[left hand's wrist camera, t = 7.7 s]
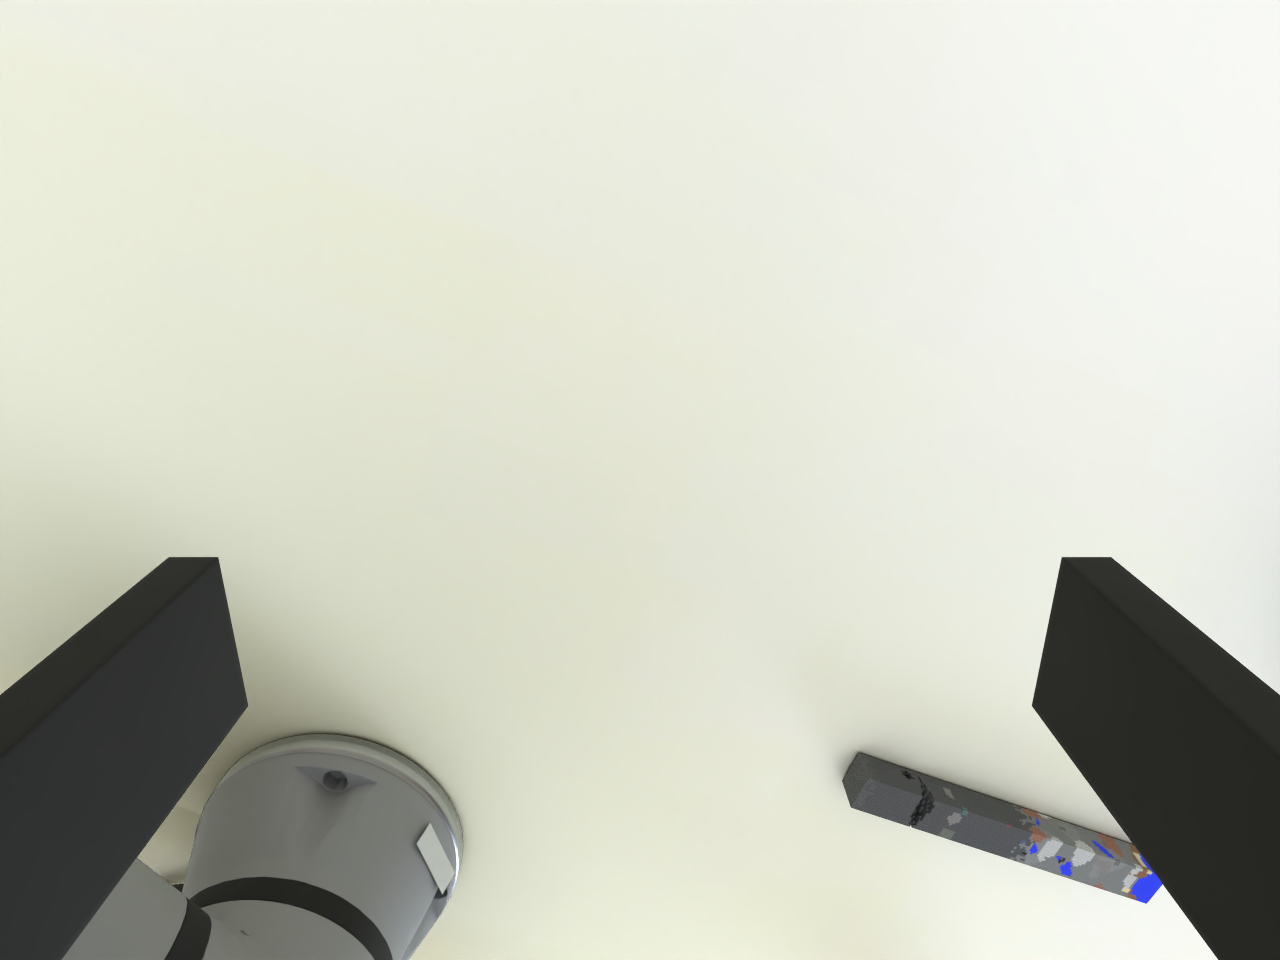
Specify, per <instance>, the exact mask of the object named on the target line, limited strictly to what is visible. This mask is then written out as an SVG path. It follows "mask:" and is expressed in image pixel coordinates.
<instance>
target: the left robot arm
mask: <svg viewBox="0 0 1280 960" xmlns="http://www.w3.org/2000/svg"><path fill="white" fill-rule="evenodd" d="M247 707H248V703H247V698H246V693H245V688H244V683H243V678H242V673H241V668H240V663H239V658H238V653H237V648H236V643H235V638H234V633H233V628H232V624H231V619H230V614H229V609H228V604H227V599H226V594H225V589H224V584H223V579H222V574H221V569H220V564H219V559H218V557H169V558H167V559H166V560H165V561H164V562H163V563H161V564H160V565H159V566H158V567H156V568H155V569H154V570H153V571H151V572H150V573H149V574H148V575H147V576H145V577H144V578H143V579H142V580H140V581H139V582H138V583H137V584H136V585H134V586H133V587H132V588H131V589H129V590H128V591H127V592H126V593H125V594H123V595H122V596H121V597H120V598H118V599H117V600H116V601H115V602H114V603H112V604H111V605H110V606H109V607H107V608H106V609H105V610H104V611H103V612H101V613H100V614H99V615H98V616H96V617H95V618H94V619H93V620H92V621H90V622H89V623H88V624H87V625H85V626H84V627H83V628H82V629H81V630H79V631H78V632H77V633H76V634H74V635H73V636H72V637H71V638H70V639H68V640H67V641H66V642H65V643H63V644H62V645H61V646H60V647H59V648H57V649H56V650H55V651H54V652H52V653H51V654H50V655H49V656H48V657H46V658H45V659H44V660H43V661H41V662H40V663H39V664H38V665H37V666H35V667H34V668H33V669H32V670H30V671H29V672H28V673H27V674H25V675H24V676H23V677H22V678H21V679H19V680H18V681H17V682H16V683H14V684H13V685H12V686H11V687H10V688H8V689H7V690H6V691H5V692H3V693H2V694H1V695H0V960H409V959H410V957H411V956H412V954H413V953H414V952H415V950H416V949H417V947H418V946H419V945H420V943H421V942H422V940H423V939H424V937H425V936H426V935H427V933H428V932H429V930H430V929H431V928H432V926H433V925H434V923H435V922H436V920H437V919H438V918H439V916H440V915H441V913H442V911H443V910H444V908H445V906H446V904H447V902H448V901H449V899H450V897H451V895H452V892H453V890H454V887H455V883H456V880H457V876H458V872H459V868H460V864H461V861H462V854H463V836H462V829H461V825H460V821H459V819H458V816H457V813H456V811H455V809H454V807H453V805H452V803H451V801H450V800H449V798H448V797H447V795H446V794H445V792H444V791H443V790H442V788H441V787H440V786H439V785H438V784H437V783H436V781H435V780H434V779H433V778H432V777H431V776H430V775H428V774H427V773H426V772H425V771H424V770H423V769H422V768H420V767H419V766H417V765H416V764H415V763H413V762H412V761H410V760H409V759H407V758H405V757H404V756H402V755H400V754H398V753H396V752H395V751H393V750H391V749H388V748H386V747H383V746H381V745H379V744H376V743H373V742H369V741H366V740H363V739H358V738H354V737H349V736H342V735H332V734H308V735H298V736H293V737H287V738H284V739H280V740H276V741H273V742H271V743H268V744H265V745H263V746H261V747H259V748H257V749H255V750H253V751H252V752H250V753H249V754H247V755H245V756H244V757H243V758H241V759H240V760H239V761H238V762H236V763H235V764H234V765H233V766H232V767H231V768H230V769H229V771H228V772H227V773H226V775H225V776H224V777H223V778H222V780H221V781H220V783H219V784H218V786H217V787H216V789H215V790H214V792H213V793H212V794H211V796H210V798H209V799H208V801H207V803H206V804H205V807H204V809H203V811H202V814H201V817H200V820H199V822H198V825H197V829H196V833H195V842H194V846H193V849H192V853H191V857H190V861H189V865H188V869H187V873H186V877H185V882H184V884H176V885H171V884H170V883H168V882H167V881H166V880H165V879H163V878H162V877H161V876H159V875H158V874H157V873H156V872H154V871H153V870H152V869H151V868H149V867H148V866H147V865H145V864H144V863H143V862H142V861H140V860H139V859H138V858H137V856H138V855H139V854H140V852H141V851H142V850H143V848H144V847H145V846H146V844H147V843H148V841H149V840H150V839H151V837H152V836H153V835H154V833H155V832H156V831H157V829H158V828H159V827H160V825H161V824H162V822H163V821H164V820H165V818H166V817H167V816H168V814H169V813H170V812H171V810H172V809H173V807H174V806H175V805H176V803H177V802H178V801H179V799H180V798H181V797H182V795H183V794H184V792H185V791H186V790H187V788H188V787H189V786H190V784H191V783H192V782H193V780H194V779H195V777H196V776H197V775H198V773H199V772H200V771H201V769H202V768H203V767H204V765H205V764H206V763H207V761H208V760H209V758H210V757H211V756H212V754H213V753H214V752H215V750H216V749H217V748H218V746H219V745H220V743H221V742H222V741H223V739H224V738H225V737H226V735H227V734H228V733H229V731H230V730H231V728H232V727H233V726H234V724H235V723H236V722H237V720H238V719H239V718H240V716H241V715H242V713H243V712H244V711H245V709H246V708H247ZM1032 707H1033V708H1034V709H1035V711H1036V712H1037V713H1038V715H1039V716H1040V718H1041V719H1042V720H1043V722H1044V723H1045V724H1046V726H1047V727H1048V728H1049V730H1050V731H1051V733H1052V734H1053V735H1054V737H1055V738H1056V739H1057V741H1058V742H1059V743H1060V745H1061V746H1062V748H1063V749H1064V750H1065V752H1066V753H1067V754H1068V756H1069V757H1070V758H1071V760H1072V761H1073V763H1074V764H1075V765H1076V767H1077V768H1078V769H1079V771H1080V772H1081V773H1082V775H1083V776H1084V777H1085V779H1086V780H1087V782H1088V783H1089V784H1090V786H1091V787H1092V788H1093V790H1094V791H1095V792H1096V794H1097V795H1098V797H1099V798H1100V799H1101V801H1102V802H1103V803H1104V805H1105V806H1106V807H1107V809H1108V810H1109V812H1110V813H1111V814H1112V816H1113V817H1114V818H1115V820H1116V821H1117V822H1118V824H1119V825H1120V827H1121V828H1122V829H1123V831H1124V832H1125V833H1126V835H1127V836H1128V837H1129V839H1130V840H1131V841H1132V843H1133V844H1134V846H1135V847H1136V848H1137V850H1138V851H1139V852H1140V854H1141V855H1142V856H1143V858H1144V859H1145V861H1146V862H1147V863H1148V865H1149V866H1150V867H1151V869H1152V870H1153V871H1154V873H1155V874H1156V876H1157V877H1158V878H1159V880H1160V881H1161V882H1162V884H1163V885H1164V886H1165V888H1166V889H1167V891H1168V892H1169V893H1170V895H1171V896H1172V897H1173V899H1174V900H1175V901H1176V903H1177V904H1178V905H1179V907H1180V908H1181V910H1182V911H1183V912H1184V914H1185V915H1186V916H1187V918H1188V919H1189V920H1190V922H1191V923H1192V925H1193V926H1194V927H1195V929H1196V930H1197V931H1198V933H1199V934H1200V935H1201V937H1202V938H1203V940H1204V941H1205V942H1206V944H1207V945H1208V946H1209V948H1210V949H1211V950H1212V952H1213V953H1214V955H1215V956H1216V957H1217V959H1218V960H1280V695H1279V694H1278V693H1277V692H1275V691H1274V690H1273V689H1272V688H1270V687H1269V686H1268V685H1267V684H1266V683H1264V682H1263V681H1262V680H1261V679H1259V678H1258V677H1257V676H1256V675H1255V674H1253V673H1252V672H1251V671H1250V670H1248V669H1247V668H1246V667H1245V666H1243V665H1242V664H1241V663H1240V662H1239V661H1237V660H1236V659H1235V658H1234V657H1232V656H1231V655H1230V654H1229V653H1228V652H1226V651H1225V650H1224V649H1223V648H1221V647H1220V646H1219V645H1218V644H1217V643H1215V642H1214V641H1213V640H1212V639H1210V638H1209V637H1208V636H1207V635H1206V634H1204V633H1203V632H1202V631H1201V630H1199V629H1198V628H1197V627H1196V626H1195V625H1193V624H1192V623H1191V622H1190V621H1188V620H1187V619H1186V618H1185V617H1184V616H1182V615H1181V614H1180V613H1179V612H1177V611H1176V610H1175V609H1174V608H1173V607H1171V606H1170V605H1169V604H1168V603H1166V602H1165V601H1164V600H1163V599H1162V598H1160V597H1159V596H1158V595H1157V594H1155V593H1154V592H1153V591H1152V590H1151V589H1149V588H1148V587H1147V586H1146V585H1144V584H1143V583H1142V582H1141V581H1140V580H1138V579H1137V578H1136V577H1135V576H1133V575H1132V574H1131V573H1130V572H1129V571H1127V570H1126V569H1125V568H1124V567H1122V566H1121V565H1120V564H1119V563H1117V562H1116V561H1115V560H1114V559H1113V558H1111V557H1062V559H1061V564H1060V569H1059V574H1058V579H1057V584H1056V589H1055V594H1054V599H1053V604H1052V609H1051V614H1050V619H1049V624H1048V628H1047V633H1046V638H1045V643H1044V648H1043V653H1042V658H1041V663H1040V668H1039V673H1038V678H1037V683H1036V688H1035V693H1034V698H1033V703H1032Z"/></svg>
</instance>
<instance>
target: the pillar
mask: <svg viewBox="0 0 1280 960" xmlns="http://www.w3.org/2000/svg"><path fill="white" fill-rule="evenodd" d="M842 782H843V785H844V788H845V791H846V794H847V797H848V800H849V803H850V806H851V808H854V809H857V810H860V811H863V812H866V813H869V814H872V815H876V816H879V817H882V818H885V819H888V820H891V821H894V822H897V823H900V824H903V825H906V826H909V827H910V825H911V826H912V828H915V829H919V830H922V831H925V832H928V833H931V834H934V835H937V836H940V837H943V838H946V839H949V840H952V841H955V842H959V843H962V844H965V845H968V846H971V847H974V848H977V849H980V850H983V851H986V852H989V853H992V854H995V855H999V856H1002V857H1005V858H1008V859H1011V860H1014V861H1017V862H1020V863H1023V864H1026V865H1029V866H1032V867H1035V868H1039V869H1042V870H1045V871H1048V872H1051V873H1054V874H1057V875H1060V876H1063V877H1066V878H1069V879H1072V880H1075V881H1078V882H1082V883H1085V884H1088V885H1091V886H1094V887H1097V888H1100V889H1103V890H1106V891H1109V892H1112V893H1115V894H1118V895H1122V896H1125V897H1128V898H1131V899H1134V900H1137V901H1140V902H1143V903H1147V902H1148V901H1149V900H1150V899H1151V898H1152V896H1153V895H1154V894H1155V893H1156V892H1157V890H1158V889H1159V888H1160V887H1161V885H1162V882H1161V881H1160V880H1159V878H1158V877H1157V876H1156V874H1155V873H1154V871H1153V870H1152V869H1151V867H1150V866H1149V865H1148V863H1147V862H1146V861H1145V859H1144V858H1143V856H1142V855H1141V854H1140V852H1139V851H1138V850H1137V848H1136V847H1135V846H1134V845H1132V844H1129V843H1126V842H1123V841H1120V840H1117V839H1114V838H1111V837H1108V836H1105V835H1103V834H1100V833H1097V832H1094V831H1091V830H1088V829H1085V828H1082V827H1079V826H1076V825H1073V824H1070V823H1067V822H1064V821H1061V820H1058V819H1055V818H1052V817H1049V816H1046V815H1043V814H1040V813H1037V812H1034V811H1031V810H1028V809H1025V808H1022V807H1019V806H1016V805H1013V804H1010V803H1007V802H1004V801H1001V800H998V799H995V798H992V797H989V796H986V795H983V794H980V793H977V792H974V791H971V790H968V789H965V788H962V787H959V786H956V785H953V784H950V783H947V782H944V781H941V780H938V779H935V778H933V777H930V776H927V775H924V774H921V773H918V772H915V771H912V770H909V769H906V768H903V767H900V766H897V765H894V764H891V763H888V762H885V761H882V760H879V759H876V758H873V757H870V756H867V755H864V754H861V753H859V754H858V755H857V757H856V759H855V760H854V762H853V764H852V765H851V767H850V769H849V770H848V772H847V774H846V775H845V777H844V779H843V780H842Z"/></svg>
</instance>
